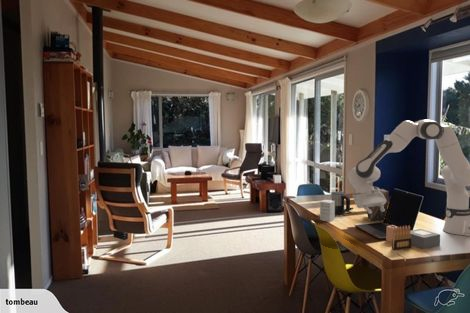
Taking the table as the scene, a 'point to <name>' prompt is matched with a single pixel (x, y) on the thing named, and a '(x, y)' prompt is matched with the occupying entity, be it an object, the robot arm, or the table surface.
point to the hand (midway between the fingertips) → (377, 212)
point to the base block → (424, 239)
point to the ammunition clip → (401, 238)
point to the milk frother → (340, 202)
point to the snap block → (390, 232)
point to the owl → (376, 211)
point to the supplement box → (327, 210)
